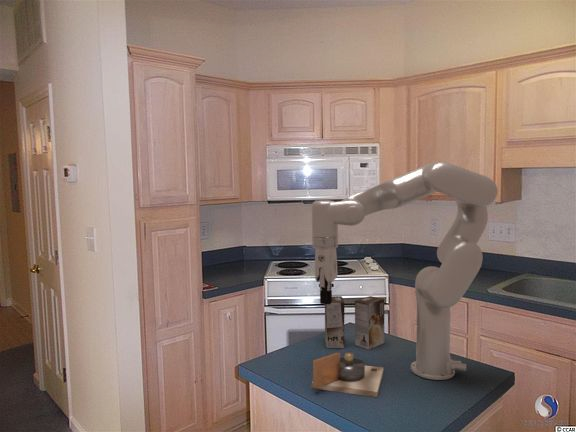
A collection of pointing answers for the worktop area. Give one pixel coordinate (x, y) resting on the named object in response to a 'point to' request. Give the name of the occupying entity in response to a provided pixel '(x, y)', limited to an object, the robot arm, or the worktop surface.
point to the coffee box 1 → (334, 323)
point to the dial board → (358, 383)
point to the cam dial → (337, 369)
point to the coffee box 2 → (369, 322)
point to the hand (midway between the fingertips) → (326, 303)
